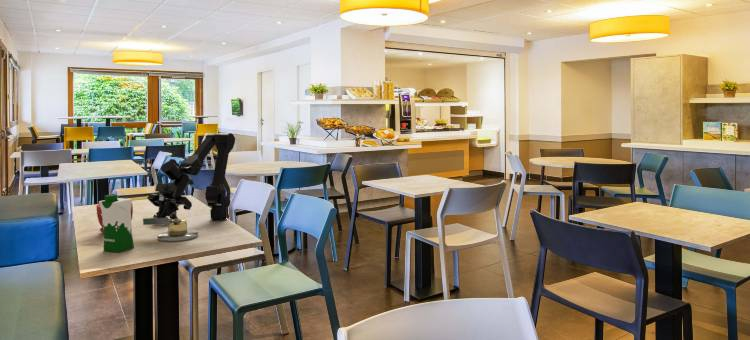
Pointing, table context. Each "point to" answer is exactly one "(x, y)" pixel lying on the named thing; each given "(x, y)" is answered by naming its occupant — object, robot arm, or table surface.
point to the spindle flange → (177, 238)
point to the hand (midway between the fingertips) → (159, 219)
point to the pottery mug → (172, 215)
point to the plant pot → (101, 216)
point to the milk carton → (116, 223)
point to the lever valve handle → (168, 225)
